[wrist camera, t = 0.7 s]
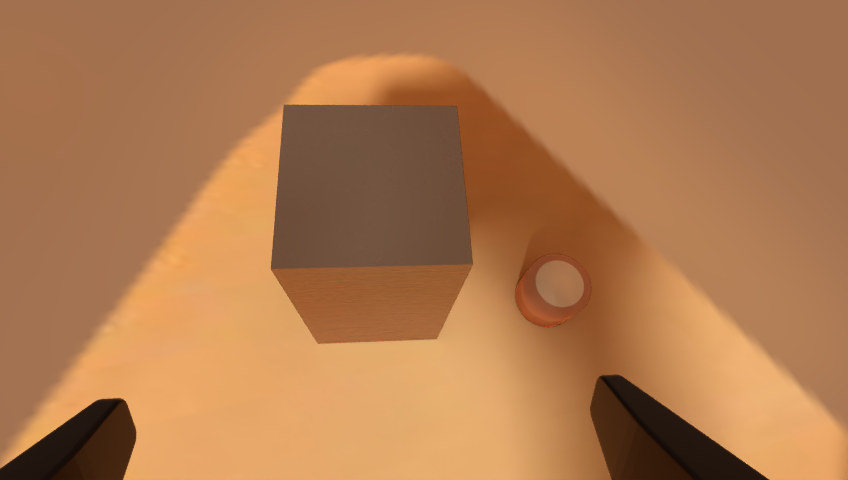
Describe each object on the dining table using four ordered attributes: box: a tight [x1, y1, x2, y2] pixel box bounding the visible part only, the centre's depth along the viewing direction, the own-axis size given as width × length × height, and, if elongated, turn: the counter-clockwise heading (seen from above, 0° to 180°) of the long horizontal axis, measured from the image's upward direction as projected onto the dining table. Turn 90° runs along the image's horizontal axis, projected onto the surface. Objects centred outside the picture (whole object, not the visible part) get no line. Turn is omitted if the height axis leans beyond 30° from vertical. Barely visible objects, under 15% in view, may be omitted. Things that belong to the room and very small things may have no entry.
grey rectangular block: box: [271, 105, 473, 344], centre depth 20 cm, size 6×6×11 cm
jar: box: [515, 254, 591, 327], centre depth 24 cm, size 3×3×2 cm
